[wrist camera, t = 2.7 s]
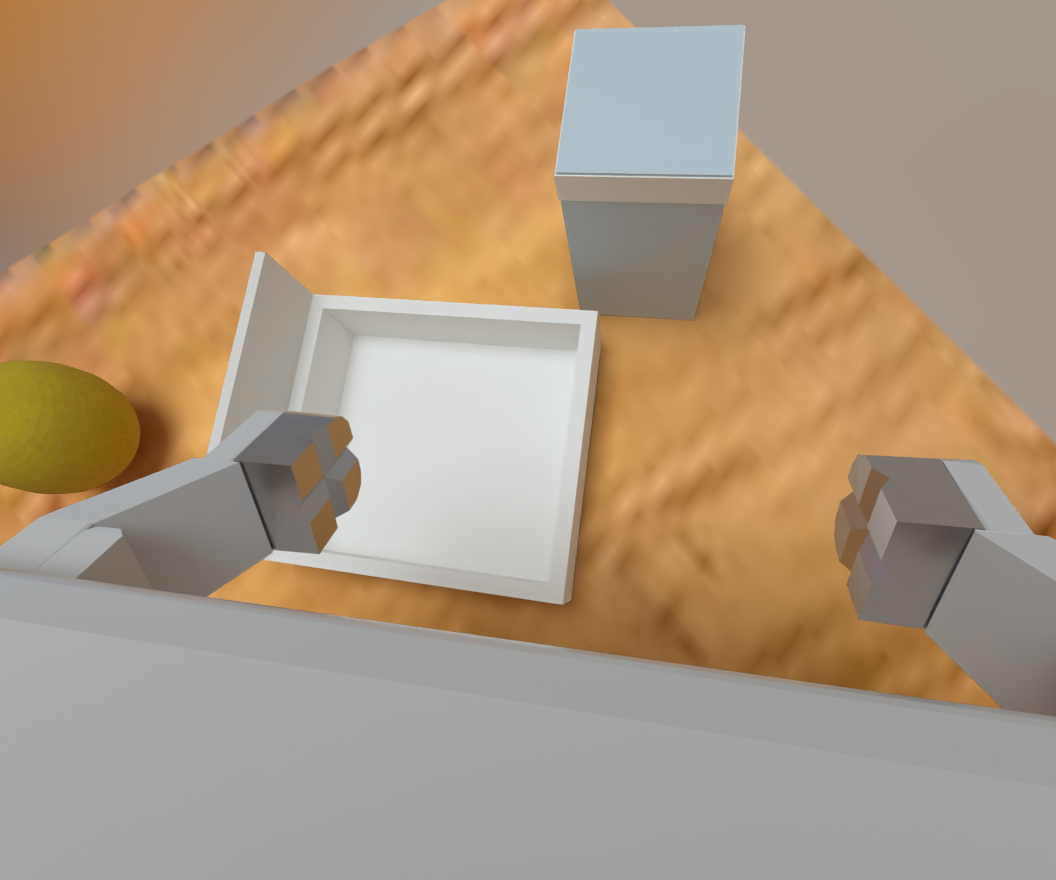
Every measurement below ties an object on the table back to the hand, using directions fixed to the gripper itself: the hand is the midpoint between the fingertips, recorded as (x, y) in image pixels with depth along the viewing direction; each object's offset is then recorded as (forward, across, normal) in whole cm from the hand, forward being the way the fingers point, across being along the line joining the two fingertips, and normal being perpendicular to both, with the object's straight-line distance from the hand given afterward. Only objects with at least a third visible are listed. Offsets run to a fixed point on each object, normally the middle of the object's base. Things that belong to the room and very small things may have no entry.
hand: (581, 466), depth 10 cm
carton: (+20, 0, +3) cm, 20 cm away
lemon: (+12, +24, +10) cm, 29 cm away
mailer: (+13, +7, +9) cm, 17 cm away
